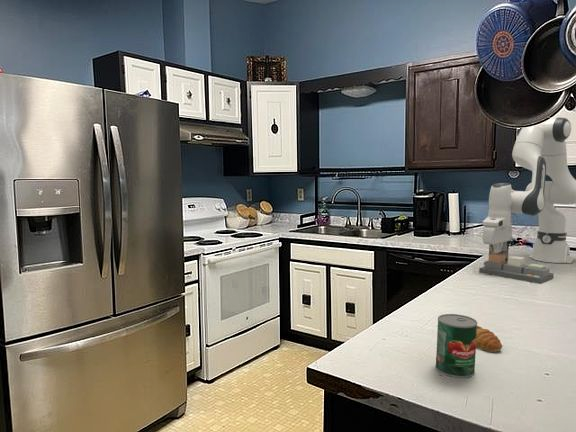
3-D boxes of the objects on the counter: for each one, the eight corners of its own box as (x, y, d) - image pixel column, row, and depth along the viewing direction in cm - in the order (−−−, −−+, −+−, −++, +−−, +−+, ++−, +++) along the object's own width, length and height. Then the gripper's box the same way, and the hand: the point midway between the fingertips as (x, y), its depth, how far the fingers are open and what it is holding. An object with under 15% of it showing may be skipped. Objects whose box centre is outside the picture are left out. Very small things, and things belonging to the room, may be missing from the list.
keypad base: (494, 268, 194) (494, 258, 193) (553, 278, 175) (554, 267, 175) (479, 272, 185) (479, 262, 184) (540, 283, 166) (540, 272, 166)
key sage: (532, 271, 177) (532, 263, 177) (545, 274, 173) (545, 265, 173) (527, 273, 174) (528, 265, 174) (540, 275, 170) (541, 267, 170)
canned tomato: (460, 381, 87) (463, 329, 86) (427, 367, 93) (430, 318, 92) (482, 371, 92) (485, 321, 91) (449, 358, 98) (451, 311, 97)
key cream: (512, 264, 183) (513, 255, 183) (524, 265, 179) (525, 257, 179) (507, 265, 180) (508, 257, 179) (519, 267, 176) (520, 259, 176)
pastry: (509, 352, 102) (510, 337, 102) (485, 355, 100) (486, 339, 100) (483, 338, 111) (484, 323, 111) (460, 340, 110) (461, 325, 109)
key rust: (493, 261, 189) (494, 253, 189) (504, 262, 185) (505, 254, 185) (488, 262, 186) (488, 254, 186) (499, 264, 182) (500, 256, 182)
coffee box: (508, 267, 195) (510, 232, 194) (492, 266, 196) (494, 231, 195) (502, 263, 204) (504, 229, 202) (487, 262, 205) (489, 229, 204)
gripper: (502, 218, 193) (500, 249, 194) (480, 221, 180) (478, 254, 181) (517, 220, 188) (515, 251, 189) (495, 223, 175) (493, 256, 176)
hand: (497, 252), depth 185 cm, fingers closed
